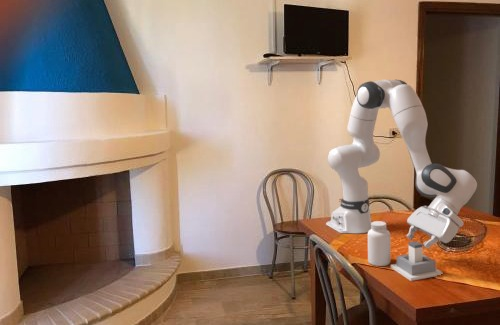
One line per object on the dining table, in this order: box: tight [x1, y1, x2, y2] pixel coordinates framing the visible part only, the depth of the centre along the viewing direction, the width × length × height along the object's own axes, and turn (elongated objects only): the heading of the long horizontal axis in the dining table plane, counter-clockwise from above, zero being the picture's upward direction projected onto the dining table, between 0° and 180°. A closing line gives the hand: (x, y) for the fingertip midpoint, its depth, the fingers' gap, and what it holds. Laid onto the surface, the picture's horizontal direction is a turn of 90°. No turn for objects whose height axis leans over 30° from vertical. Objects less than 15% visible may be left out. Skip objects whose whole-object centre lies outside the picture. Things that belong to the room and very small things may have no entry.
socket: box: [390, 253, 444, 282], centre depth 149 cm, size 12×12×4 cm
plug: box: [407, 240, 424, 263], centre depth 149 cm, size 4×3×9 cm
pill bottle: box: [367, 220, 392, 267], centre depth 158 cm, size 8×8×15 cm
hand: (416, 242), depth 150 cm, fingers open, 8 cm apart
